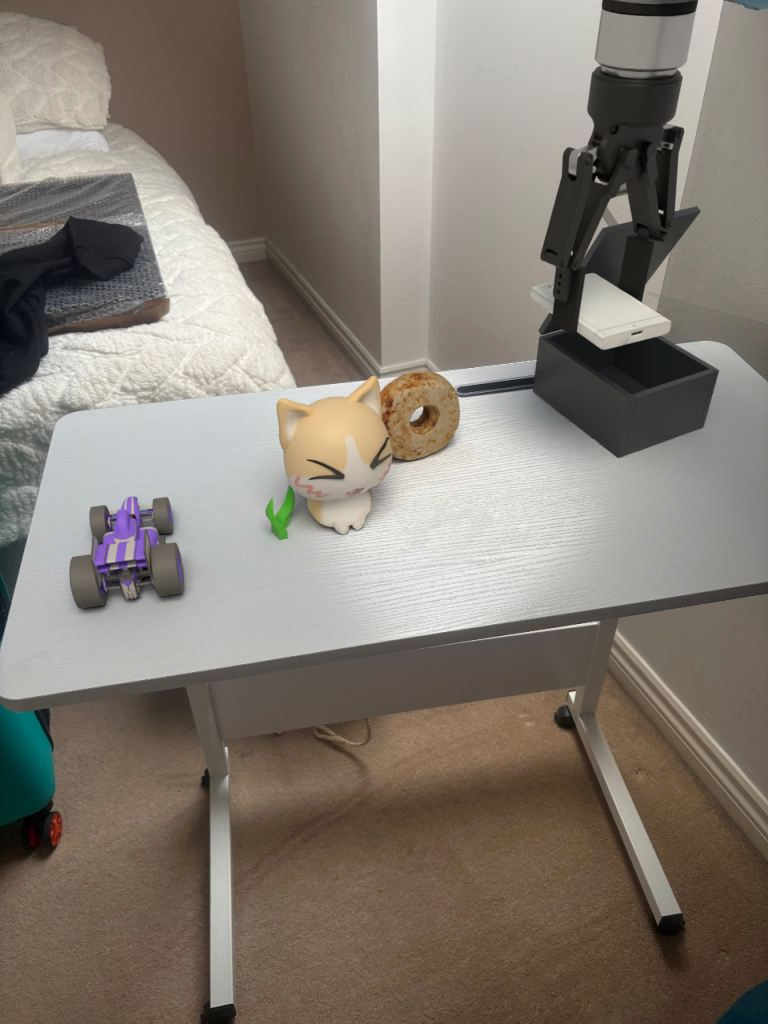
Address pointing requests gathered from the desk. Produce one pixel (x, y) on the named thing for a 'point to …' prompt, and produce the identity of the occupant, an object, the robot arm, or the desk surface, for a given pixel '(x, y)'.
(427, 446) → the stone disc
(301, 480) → the kitten
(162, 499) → the toy race car
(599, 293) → the hard drive
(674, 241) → the box lid
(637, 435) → the black box
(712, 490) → the desk surface
